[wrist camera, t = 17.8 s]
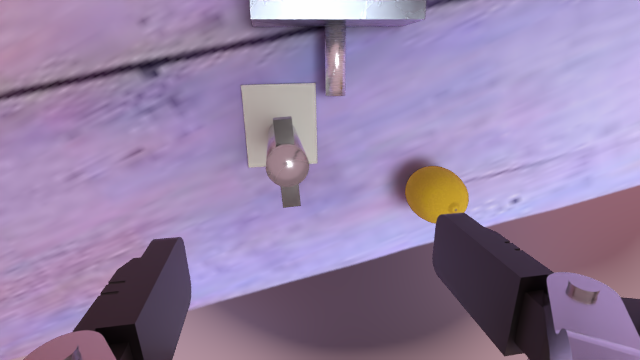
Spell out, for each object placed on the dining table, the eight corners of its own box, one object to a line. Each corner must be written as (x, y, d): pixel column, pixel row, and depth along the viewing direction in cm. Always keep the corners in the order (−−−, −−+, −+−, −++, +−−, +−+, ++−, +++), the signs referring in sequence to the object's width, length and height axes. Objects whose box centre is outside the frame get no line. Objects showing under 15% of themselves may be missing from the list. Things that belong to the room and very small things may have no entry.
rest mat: (241, 85, 31) (241, 85, 31) (314, 83, 32) (315, 83, 32) (248, 166, 34) (248, 167, 33) (316, 162, 35) (317, 163, 34)
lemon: (393, 161, 36) (427, 186, 29) (441, 154, 37) (486, 176, 29) (395, 207, 38) (427, 242, 31) (440, 200, 39) (483, 231, 31)
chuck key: (293, 102, 32) (304, 118, 21) (299, 162, 34) (312, 206, 23) (264, 104, 32) (259, 122, 20) (272, 165, 34) (271, 211, 22)
